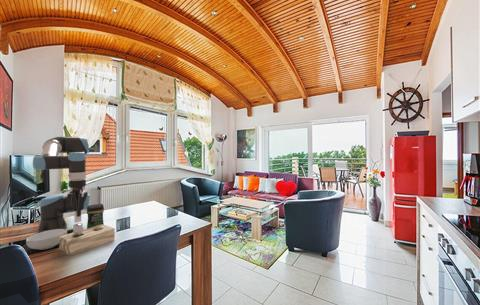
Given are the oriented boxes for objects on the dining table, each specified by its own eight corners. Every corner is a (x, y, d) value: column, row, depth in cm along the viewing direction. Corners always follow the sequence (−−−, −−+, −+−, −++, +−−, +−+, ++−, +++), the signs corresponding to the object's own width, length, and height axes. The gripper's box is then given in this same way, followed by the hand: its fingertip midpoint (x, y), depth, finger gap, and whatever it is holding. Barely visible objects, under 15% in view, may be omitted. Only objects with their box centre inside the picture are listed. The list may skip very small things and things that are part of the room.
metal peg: (72, 237, 114) (72, 225, 114) (80, 235, 117) (80, 222, 117) (75, 239, 112) (75, 226, 112) (83, 236, 115) (83, 224, 115)
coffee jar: (86, 236, 130) (86, 207, 130) (86, 232, 137) (85, 204, 136) (105, 232, 137) (104, 204, 136) (103, 228, 143) (103, 202, 143)
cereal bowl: (63, 237, 128) (63, 226, 128) (70, 245, 118) (70, 233, 118) (24, 247, 115) (24, 235, 115) (27, 257, 105) (27, 243, 105)
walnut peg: (92, 240, 123) (92, 228, 123) (99, 238, 126) (99, 226, 126) (95, 242, 121) (95, 230, 121) (103, 239, 124) (103, 228, 124)
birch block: (59, 249, 113) (59, 236, 113) (102, 235, 132) (102, 224, 132) (70, 255, 106) (70, 242, 106) (114, 239, 125) (114, 228, 125)
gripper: (64, 179, 114) (64, 221, 115) (74, 181, 108) (75, 226, 108) (79, 178, 121) (80, 218, 121) (90, 179, 114) (91, 221, 114)
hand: (77, 221), depth 115 cm, fingers closed
